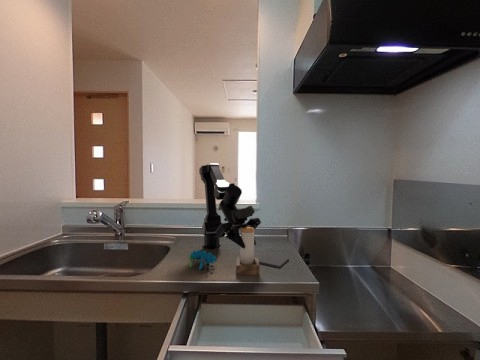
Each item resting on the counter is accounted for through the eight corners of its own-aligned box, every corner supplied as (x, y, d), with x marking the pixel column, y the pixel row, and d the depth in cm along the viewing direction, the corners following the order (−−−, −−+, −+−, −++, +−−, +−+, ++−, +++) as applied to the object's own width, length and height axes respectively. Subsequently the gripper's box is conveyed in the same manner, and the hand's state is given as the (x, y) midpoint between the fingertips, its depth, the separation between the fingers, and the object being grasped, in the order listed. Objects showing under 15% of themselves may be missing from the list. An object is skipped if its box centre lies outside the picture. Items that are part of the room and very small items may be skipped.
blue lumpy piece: (220, 260, 109) (210, 247, 102) (217, 275, 105) (206, 263, 98) (196, 260, 113) (184, 248, 106) (192, 274, 109) (179, 263, 102)
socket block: (236, 275, 99) (236, 265, 99) (236, 266, 107) (236, 257, 107) (259, 275, 99) (259, 265, 99) (258, 266, 107) (258, 257, 107)
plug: (237, 266, 102) (238, 228, 101) (244, 262, 106) (244, 226, 105) (249, 269, 99) (250, 230, 98) (256, 264, 103) (256, 227, 103)
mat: (256, 262, 111) (256, 260, 111) (266, 255, 120) (266, 254, 120) (279, 267, 106) (279, 265, 106) (288, 260, 115) (288, 258, 115)
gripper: (221, 201, 98) (241, 238, 90) (258, 197, 110) (279, 230, 103) (207, 219, 104) (226, 256, 97) (244, 214, 117) (263, 246, 109)
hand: (249, 246), depth 101 cm, fingers closed on plug, 5 cm apart
